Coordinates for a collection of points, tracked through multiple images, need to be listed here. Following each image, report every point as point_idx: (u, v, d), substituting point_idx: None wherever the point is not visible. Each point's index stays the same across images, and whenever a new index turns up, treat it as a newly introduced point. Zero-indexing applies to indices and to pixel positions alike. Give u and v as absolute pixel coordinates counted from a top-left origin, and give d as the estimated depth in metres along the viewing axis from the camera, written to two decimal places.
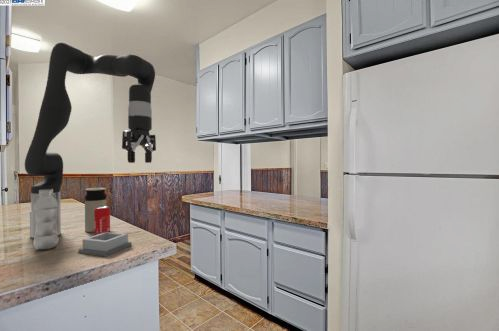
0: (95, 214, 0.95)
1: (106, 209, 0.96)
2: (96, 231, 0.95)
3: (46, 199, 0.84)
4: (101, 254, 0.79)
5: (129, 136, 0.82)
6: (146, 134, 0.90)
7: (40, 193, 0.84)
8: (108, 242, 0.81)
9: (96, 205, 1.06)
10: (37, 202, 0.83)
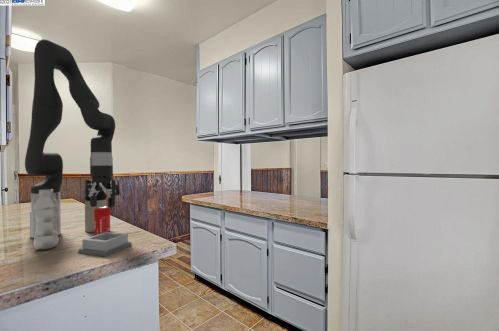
0: (95, 214, 0.95)
1: (106, 209, 0.96)
2: (96, 231, 0.95)
3: (46, 199, 0.84)
4: (101, 254, 0.79)
5: None
6: None
7: (40, 193, 0.84)
8: (108, 242, 0.81)
9: None
10: (37, 202, 0.83)
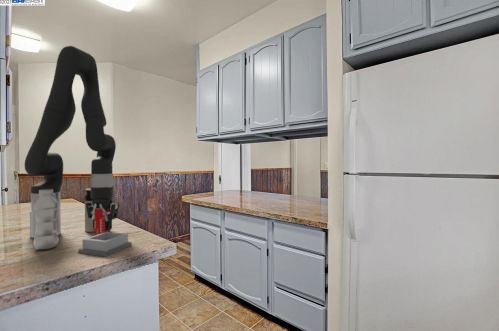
0: (95, 214, 0.95)
1: None
2: (96, 231, 0.95)
3: (46, 199, 0.84)
4: (101, 254, 0.79)
5: None
6: None
7: (40, 193, 0.84)
8: (108, 242, 0.81)
9: None
10: (37, 202, 0.83)
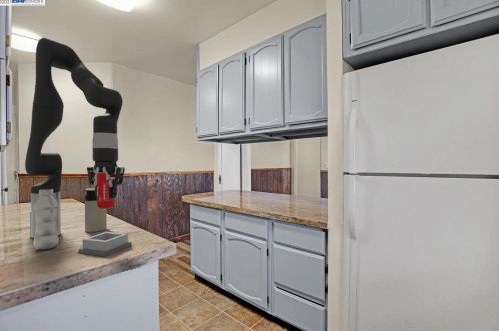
0: (98, 179, 0.83)
1: None
2: (99, 198, 0.83)
3: (46, 199, 0.84)
4: (101, 254, 0.79)
5: None
6: None
7: (40, 193, 0.84)
8: (108, 242, 0.81)
9: (96, 205, 1.06)
10: (37, 202, 0.83)
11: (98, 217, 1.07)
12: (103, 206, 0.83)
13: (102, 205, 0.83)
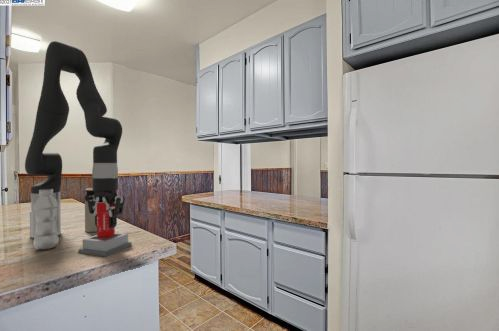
0: (98, 209, 0.83)
1: None
2: (99, 228, 0.83)
3: (46, 199, 0.84)
4: (101, 254, 0.79)
5: None
6: None
7: (40, 193, 0.84)
8: (108, 242, 0.81)
9: None
10: (37, 202, 0.83)
11: None
12: (103, 236, 0.83)
13: (102, 235, 0.83)
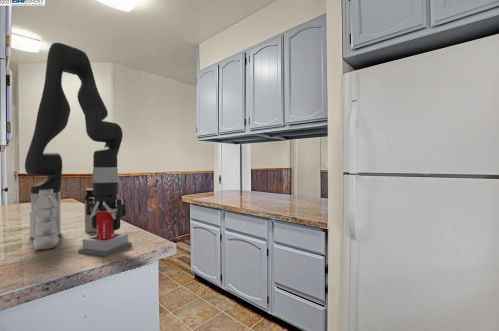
0: (97, 218, 0.83)
1: None
2: (99, 237, 0.83)
3: (46, 199, 0.84)
4: (101, 254, 0.79)
5: None
6: None
7: (40, 193, 0.84)
8: (108, 242, 0.81)
9: None
10: (37, 202, 0.83)
11: None
12: None
13: None
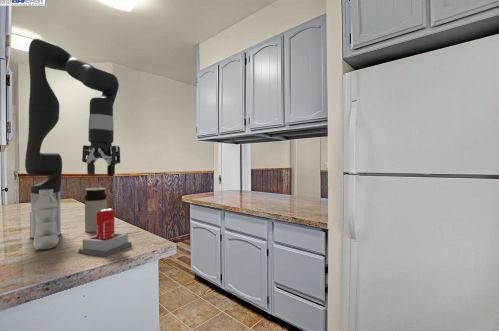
0: (97, 217, 0.84)
1: (110, 212, 0.85)
2: (99, 237, 0.83)
3: (46, 199, 0.84)
4: (101, 254, 0.79)
5: None
6: None
7: (40, 193, 0.84)
8: (108, 242, 0.81)
9: (96, 205, 1.06)
10: (37, 202, 0.83)
11: None
12: None
13: None
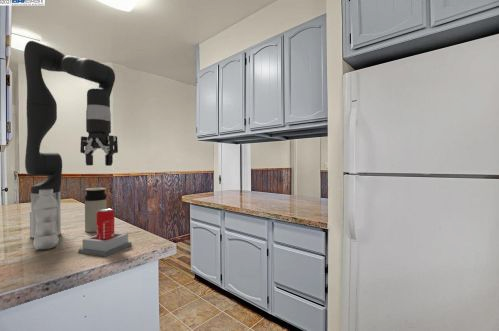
0: (97, 218, 0.84)
1: (110, 212, 0.85)
2: (99, 237, 0.83)
3: (46, 199, 0.84)
4: (101, 254, 0.79)
5: None
6: None
7: (40, 193, 0.84)
8: (108, 242, 0.81)
9: (96, 205, 1.06)
10: (37, 202, 0.83)
11: None
12: None
13: None
